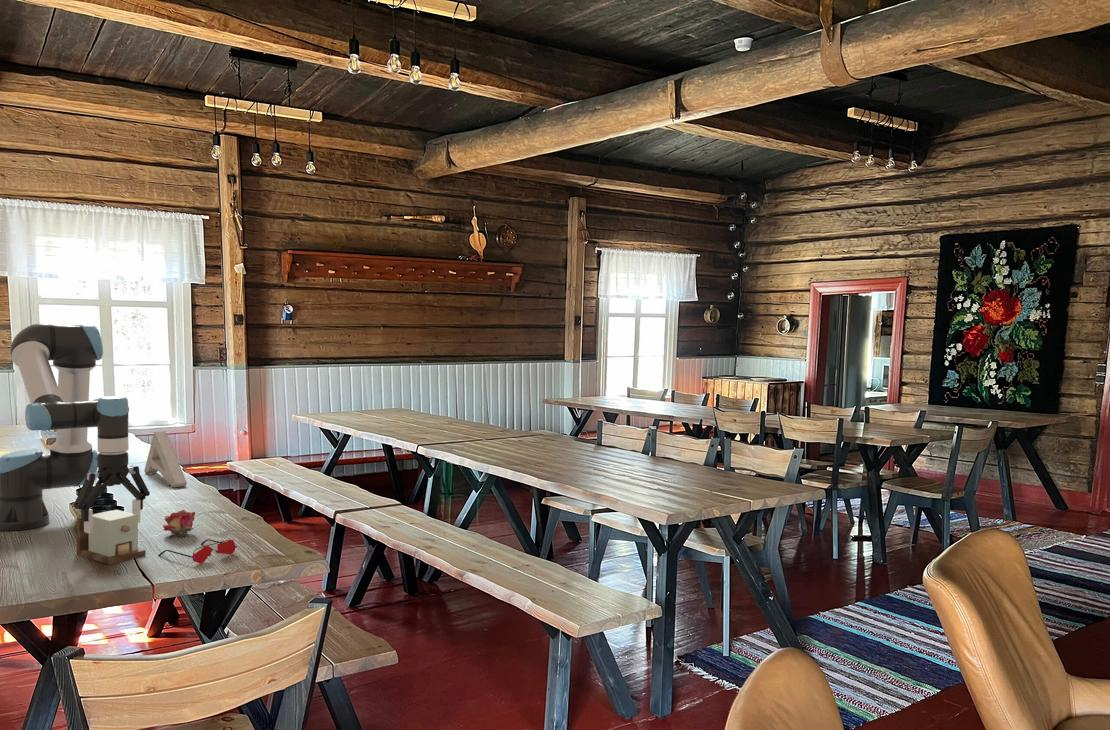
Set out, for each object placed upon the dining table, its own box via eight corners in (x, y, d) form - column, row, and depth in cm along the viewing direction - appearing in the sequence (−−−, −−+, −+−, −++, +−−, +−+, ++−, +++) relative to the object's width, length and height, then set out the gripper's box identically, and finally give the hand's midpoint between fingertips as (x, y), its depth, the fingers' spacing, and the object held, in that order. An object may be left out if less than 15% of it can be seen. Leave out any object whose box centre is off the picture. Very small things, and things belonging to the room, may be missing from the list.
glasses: (194, 567, 211) (194, 549, 211) (157, 557, 219) (157, 539, 219) (238, 555, 223) (238, 538, 223) (201, 545, 231) (201, 528, 231)
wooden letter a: (163, 523, 312) (144, 470, 328) (175, 521, 315) (155, 469, 331) (175, 484, 301) (154, 432, 318) (187, 482, 304) (165, 431, 321)
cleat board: (76, 554, 218) (76, 517, 217) (112, 545, 227) (112, 510, 226) (110, 564, 210) (110, 526, 210) (145, 555, 219) (145, 518, 218)
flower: (205, 530, 240) (200, 506, 243) (178, 530, 232) (173, 506, 235) (186, 543, 243) (181, 520, 246) (158, 544, 235) (154, 520, 238)
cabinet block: (88, 550, 217) (88, 515, 216) (116, 543, 224) (116, 509, 223) (112, 557, 211) (112, 521, 211) (140, 550, 218) (140, 515, 218)
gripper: (147, 444, 229) (147, 515, 230) (58, 456, 207) (58, 534, 209) (163, 447, 225) (162, 519, 227) (74, 460, 204) (74, 539, 205)
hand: (113, 527), depth 218 cm, fingers open, 13 cm apart
